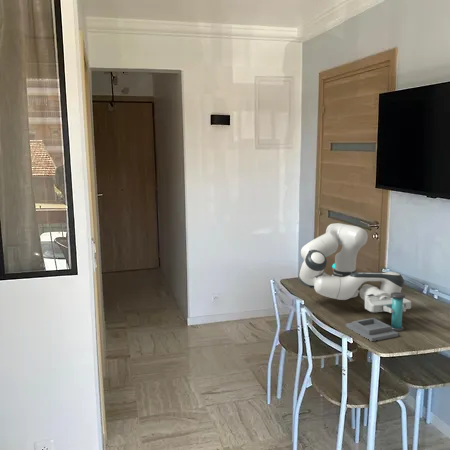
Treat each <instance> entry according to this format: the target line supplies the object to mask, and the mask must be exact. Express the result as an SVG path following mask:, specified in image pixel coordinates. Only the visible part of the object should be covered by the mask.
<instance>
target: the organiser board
mask: <svg viewBox="0 0 450 450" xmlns="http://www.w3.org/2000/svg"><path fill="white" fill-rule="evenodd" d="M389 325H390V324H388V323H385V322H383V321H381V320H379V319H377V318H375V317H371V318H366V319H365V318H364V319H358V320H352V322H347V323H345V328H348V329H349V330H351V331H352V330H353V331H352V332H354V333H355V334H357V333H358V335H359V334H360V335H359V336H361V337H363V338H364V337H365V339H366V338H367V339H366V340H368V339H369V340H370V342H371V341H373V342H377V341H376V340H378V341H382V340H388V339H393V338H397V337H399V332H398V331H393V330H392V329H391V326H389ZM369 340H368V341H369Z"/></svg>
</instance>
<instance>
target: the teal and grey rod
mask: <svg viewBox="0 0 450 450" xmlns="http://www.w3.org/2000/svg"><path fill="white" fill-rule="evenodd" d="M391 297H392V308H393V309H394V313H391V322H390V323H391V324H388V325H389V326H391V329H392V330H393V331H395V332H397V333H399V332H402V331H404V328H405V327H404V326H403V312H402V311H403V299H404V298H405V299H406V294H405V293H402V292H401V293H398V292H394V293H391Z"/></svg>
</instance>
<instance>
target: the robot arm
mask: <svg viewBox="0 0 450 450" xmlns="http://www.w3.org/2000/svg"><path fill="white" fill-rule="evenodd" d="M368 237H369V236H368V233H367V230H366V229H364V228H362V227H360V226H355V225H352V224H345V223H341V222H337V223H336V222H335V223H330V224H328V226H327V227H326V230H325V233H323V234H322V235H319V236H317V237H316V238H314V239H312V240H310V241H309V242H307V243H306V244H304V245H303V246H302V247H301V249H300V256H301V258H302V260H303V262H302V263H301V267H300V270H299V272H298V277H297V278H298V282H299V283H300V284H301V285H302V286H304V287H307V288H309V289H313V290H314V291H315V293H317V294H318V295H320V296H323V297H326V298H330V299H334V300H339V301H340V300H341V301H347V300H350V299H352V298H353V299H354V298H357V297H358V296H359V297H360V298H361V299H362V300H363V301H364V310H367V311H368V312H370V313H380V312H381V313H382V312H387V313H390V314H392V313H394V309H393V308H392V297H391V293H394V292H398V293H402V289H403V287H404V283H405V279H404V277H403V276H402V274H401V273H398V272H395V271H385V272H384V271H382V272H375V271H374V272H373V271H369V272H368V271H357V269H356V268H357V257H358V253H359V251H360V249H361V248H362V247H363V246H365V245H366V244H367V242H368ZM339 246H341V249H340V251H339V252H337V250H338V248H339ZM336 252H337V253H336ZM334 253H336V254H335V256H334V263H335V269H331V270H332V271H333V272H332V274H331V275H330V274H327V273H326V272H325V269H326V267H327V264H328V263H327V262H328V261H327V259H328V258H327V257H329V256H331V255H332V254H333V255H334ZM367 282H381V284H380V288H378V287H377V286H374V285H373V284H368V283H367ZM364 283H365V284H364ZM366 283H367V284H366ZM362 284H363V285H362ZM359 288H360V289H359ZM411 308H412V301H411V300H409V299H407V298H406V297H405V298H404V299H403V311H402V313H405V312H406V310H410V309H411Z"/></svg>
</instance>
